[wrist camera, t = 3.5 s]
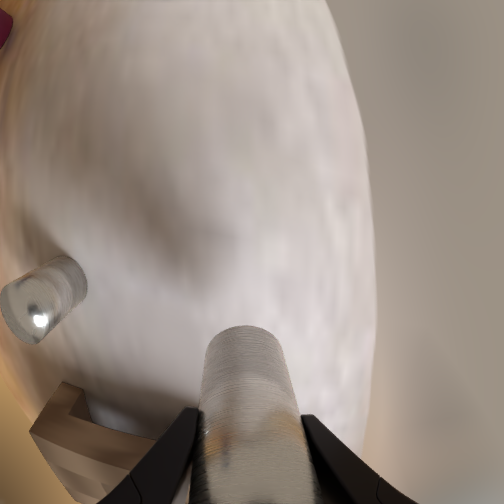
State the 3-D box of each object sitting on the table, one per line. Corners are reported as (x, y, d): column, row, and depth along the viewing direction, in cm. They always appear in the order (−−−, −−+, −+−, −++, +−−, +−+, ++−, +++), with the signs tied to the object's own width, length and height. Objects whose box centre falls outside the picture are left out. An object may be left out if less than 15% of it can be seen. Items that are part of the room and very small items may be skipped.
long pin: (290, 330, 11) (368, 552, 2) (274, 388, 12) (311, 577, 3) (209, 320, 11) (181, 567, 2) (202, 381, 11) (184, 579, 3)
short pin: (86, 260, 14) (38, 291, 9) (88, 309, 15) (48, 351, 10) (46, 252, 14) (-5, 278, 9) (50, 299, 15) (6, 334, 10)
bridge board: (237, 420, 18) (240, 487, 12) (222, 487, 21) (222, 534, 15) (62, 382, 16) (28, 431, 11) (90, 460, 19) (75, 500, 13)
